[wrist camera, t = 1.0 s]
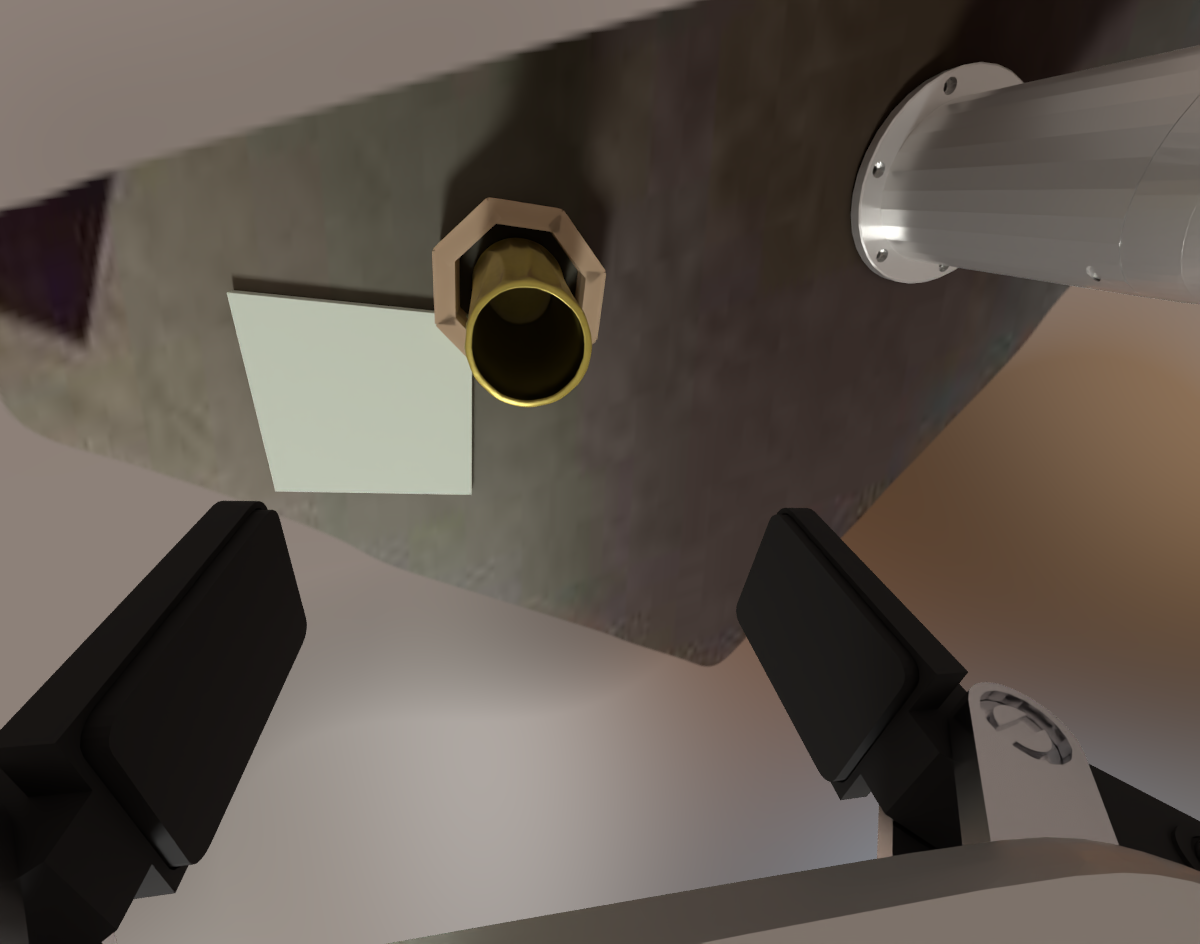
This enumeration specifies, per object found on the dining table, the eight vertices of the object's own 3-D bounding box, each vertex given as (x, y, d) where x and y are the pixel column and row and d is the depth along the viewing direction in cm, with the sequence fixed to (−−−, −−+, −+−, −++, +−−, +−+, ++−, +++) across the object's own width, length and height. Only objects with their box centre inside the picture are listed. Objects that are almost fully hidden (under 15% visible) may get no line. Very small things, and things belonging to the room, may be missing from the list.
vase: (484, 341, 32) (474, 428, 20) (460, 244, 29) (430, 279, 17) (570, 326, 33) (610, 403, 21) (556, 230, 29) (594, 255, 17)
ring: (602, 215, 29) (613, 217, 26) (583, 367, 34) (591, 383, 31) (437, 188, 27) (429, 188, 24) (442, 355, 32) (436, 371, 29)
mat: (472, 314, 31) (471, 317, 30) (471, 489, 38) (471, 494, 37) (233, 290, 28) (226, 292, 27) (279, 485, 35) (275, 491, 34)
